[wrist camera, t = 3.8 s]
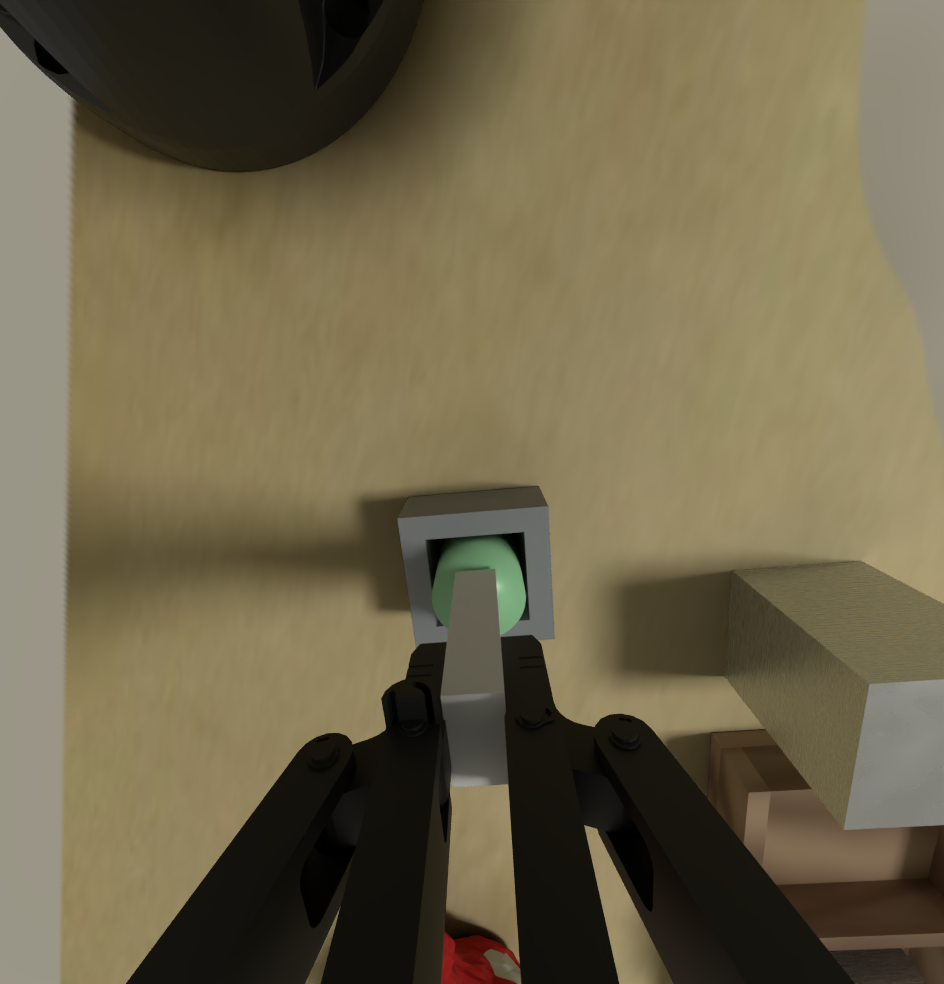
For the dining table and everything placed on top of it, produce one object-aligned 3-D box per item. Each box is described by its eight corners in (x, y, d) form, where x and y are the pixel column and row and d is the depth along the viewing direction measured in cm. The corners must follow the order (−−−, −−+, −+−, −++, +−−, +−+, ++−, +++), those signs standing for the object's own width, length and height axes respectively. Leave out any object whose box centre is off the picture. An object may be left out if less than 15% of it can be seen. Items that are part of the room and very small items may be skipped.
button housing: (408, 496, 21) (397, 518, 18) (538, 486, 21) (548, 506, 18) (424, 611, 23) (416, 648, 20) (544, 603, 22) (554, 638, 19)
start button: (435, 526, 20) (426, 559, 17) (515, 520, 20) (523, 551, 17) (444, 598, 21) (437, 642, 18) (520, 592, 21) (528, 636, 18)
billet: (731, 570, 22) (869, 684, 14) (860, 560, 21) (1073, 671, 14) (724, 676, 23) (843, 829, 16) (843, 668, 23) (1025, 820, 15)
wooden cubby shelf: (711, 733, 24) (748, 792, 21) (964, 717, 24) (1044, 776, 20) (694, 990, 30) (721, 1070, 27) (897, 983, 29) (951, 1063, 26)
